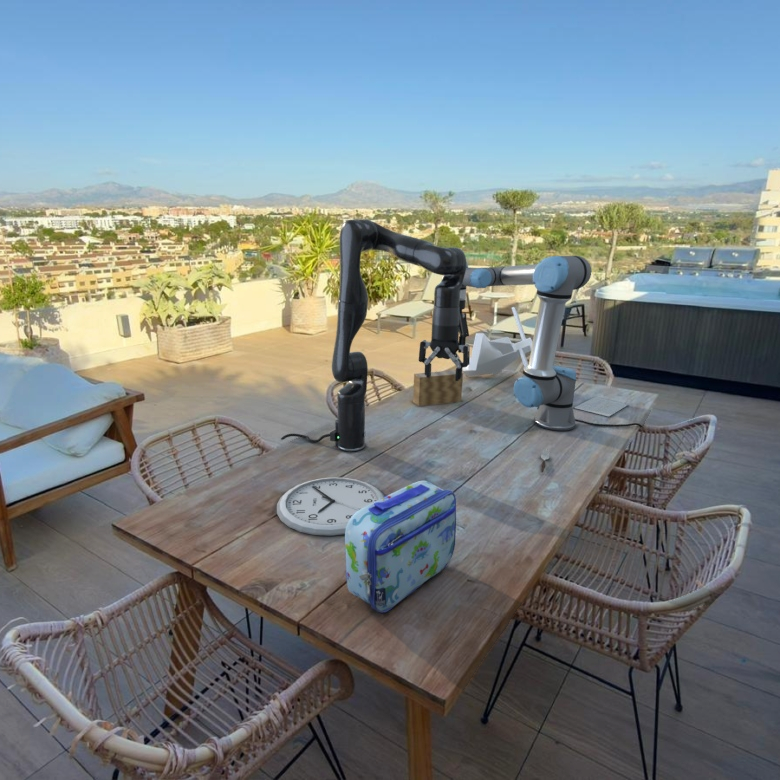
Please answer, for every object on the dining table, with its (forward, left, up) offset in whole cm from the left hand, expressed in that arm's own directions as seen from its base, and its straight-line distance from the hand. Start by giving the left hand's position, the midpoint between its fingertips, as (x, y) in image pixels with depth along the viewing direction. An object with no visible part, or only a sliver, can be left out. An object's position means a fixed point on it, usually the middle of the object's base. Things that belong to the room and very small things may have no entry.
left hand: (442, 378), depth 149 cm
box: (-33, +67, -32) cm, 81 cm away
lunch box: (+15, -48, -32) cm, 60 cm away
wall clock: (-18, -30, -32) cm, 47 cm away
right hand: (-29, +72, -9) cm, 78 cm away
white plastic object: (-19, +110, -32) cm, 116 cm away
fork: (+24, +28, -32) cm, 49 cm away
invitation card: (+30, +100, -32) cm, 109 cm away
